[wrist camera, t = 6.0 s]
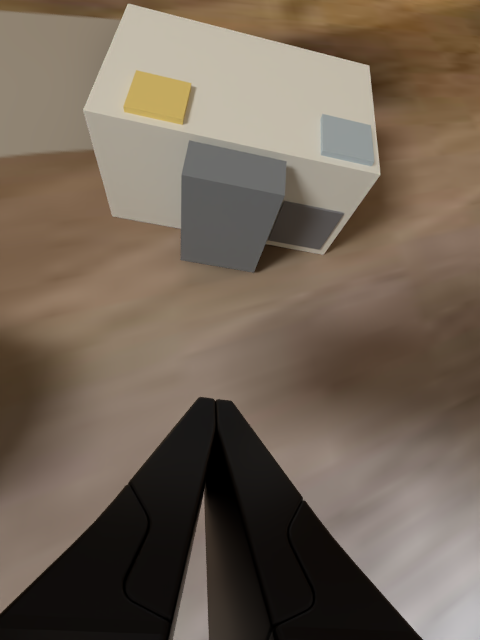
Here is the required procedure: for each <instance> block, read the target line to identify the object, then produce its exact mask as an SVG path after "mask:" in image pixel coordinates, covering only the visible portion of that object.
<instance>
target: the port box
mask: <svg viewBox="0 0 480 640" xmlns="http://www.w3.org/2000/svg"><path fill="white" fill-rule="evenodd" d="M83 111H84V115H85V119H86V123H87V126H88V130H89V133H90V137H91V141H92V144H93V148H94V152H95V155H96V159H97V163H98V166H99V170H100V173H101V177H102V181H103V184H104V188H105V192H106V195H107V199H108V202H109V206H110V210H111V213H112V216H114V217H119V218H125V219H130V220H136V221H141V222H147V223H152V224H158V225H163V226H169V227H174V228H180V229H181V175H182V170H183V166H184V161H185V156H186V152H187V147H188V143H189V140H190V141H195V142H199V143H204V144H209V145H213V146H218V147H223V148H227V149H232V150H237V151H241V152H246V153H251V154H255V155H260V156H265V157H269V158H274V159H279V160H283V161H287V164H286V184H285V197H284V199H283V202H282V204H281V207H280V209H279V212H278V214H277V216H276V219H275V221H274V224H273V226H272V229H271V231H270V234H269V236H268V239H267V241H266V244H267V245H273V246H278V247H284V248H289V249H295V250H300V251H306V252H311V253H317V254H322V255H324V253H325V252H326V251H327V249H328V248H329V246H330V245H331V244H332V242H333V241H334V239H335V238H336V237H337V235H338V234H339V232H340V231H341V230H342V228H343V227H344V225H345V224H346V223H347V221H348V220H349V218H350V217H351V215H352V214H353V213H354V211H355V210H356V208H357V207H358V206H359V204H360V203H361V201H362V200H363V199H364V197H365V196H366V194H367V193H368V192H369V190H370V189H371V187H372V186H373V185H374V183H375V182H376V180H377V179H378V178H379V176H380V175H381V174H380V165H379V155H378V146H377V136H376V126H375V117H374V107H373V98H372V88H371V78H370V69H369V66H368V65H364V64H361V63H357V62H353V61H349V60H345V59H341V58H337V57H333V56H329V55H326V54H322V53H318V52H314V51H310V50H306V49H302V48H298V47H295V46H291V45H287V44H283V43H279V42H275V41H271V40H267V39H264V38H260V37H256V36H252V35H248V34H244V33H240V32H236V31H232V30H229V29H225V28H221V27H217V26H213V25H209V24H205V23H201V22H198V21H194V20H190V19H186V18H182V17H178V16H174V15H170V14H166V13H163V12H159V11H155V10H151V9H147V8H143V7H139V6H135V5H132V4H128V5H127V7H126V10H125V12H124V15H123V17H122V19H121V22H120V24H119V27H118V29H117V31H116V33H115V36H114V38H113V41H112V43H111V45H110V48H109V50H108V53H107V55H106V57H105V60H104V62H103V64H102V67H101V69H100V71H99V74H98V76H97V78H96V81H95V83H94V86H93V88H92V90H91V93H90V95H89V98H88V100H87V102H86V105H85V107H84V109H83Z"/></svg>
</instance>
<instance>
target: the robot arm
mask: <svg viewBox="0 0 480 640" xmlns="http://www.w3.org/2000/svg"><path fill="white" fill-rule="evenodd" d="M204 488H205V491H204ZM203 494H204V503H205V533H206V564H207V594H208V624H209V640H423V639H422V638H421V637H420V636H419V635H418V634H417V633H416V632H415V631H414V629H413V628H412V627H411V626H410V625H409V624H408V623H407V621H406V620H405V619H404V618H403V617H402V616H401V615H400V614H399V612H398V611H397V610H396V609H395V608H394V607H393V606H392V605H391V603H390V602H389V601H388V600H387V599H386V598H385V597H384V595H383V594H382V593H381V592H380V591H379V590H378V589H377V588H376V586H375V585H374V584H373V583H372V582H371V581H370V580H369V578H368V577H367V576H366V575H365V574H364V573H363V572H362V571H361V569H360V568H359V567H358V566H357V565H356V564H355V563H354V561H353V560H352V559H351V558H350V557H349V556H348V554H347V553H346V552H345V551H344V550H343V548H342V547H341V546H340V545H339V544H338V543H337V541H336V540H335V539H334V538H333V537H332V535H331V534H330V533H329V531H328V530H327V529H326V528H325V526H324V525H323V524H322V522H321V521H320V520H319V519H318V517H317V516H316V515H315V513H314V512H313V511H312V509H311V508H310V507H309V505H308V504H307V502H306V501H304V500H303V497H302V496H301V494H300V493H299V492H298V490H297V489H296V488H295V486H294V485H293V484H292V482H291V481H290V480H289V478H288V477H287V475H286V474H285V473H284V471H283V470H282V469H281V467H280V466H279V465H278V463H277V462H276V460H275V459H274V458H273V456H272V455H271V454H270V452H269V451H268V450H267V448H266V447H265V445H264V444H263V443H262V441H261V440H260V439H259V437H258V436H257V435H256V433H255V432H254V430H253V429H252V428H251V426H250V425H249V424H248V422H247V421H246V420H245V418H244V417H243V415H242V414H241V413H240V411H239V410H238V409H237V407H236V406H235V405H234V403H233V402H232V401H229V400H220V399H217V400H216V401H215V400H214V399H212V398H204V397H199V398H198V399H197V400H196V401H195V402H194V404H193V405H192V406H191V407H190V409H189V410H188V411H187V412H186V413H185V415H184V416H183V417H182V418H181V419H180V421H179V422H178V423H177V424H176V426H175V427H174V428H173V429H172V430H171V432H170V433H169V434H168V435H167V436H166V438H165V439H164V440H163V441H162V442H161V444H160V445H159V446H158V447H157V449H156V450H155V451H154V452H153V453H152V455H151V456H150V457H149V458H148V459H147V461H146V462H145V463H144V464H143V466H142V467H141V468H140V469H139V470H138V472H137V473H136V474H135V475H134V476H133V478H132V479H131V480H130V481H129V483H128V485H126V486H125V487H124V488H123V490H122V491H121V492H120V493H119V494H118V496H117V497H116V498H115V499H114V500H113V502H112V503H111V504H110V505H109V506H108V507H107V508H106V509H105V511H104V512H103V513H102V514H101V515H100V516H99V517H98V519H97V520H96V521H95V522H94V523H93V524H92V525H91V526H90V527H89V528H88V529H87V530H86V531H85V532H84V533H83V534H82V535H81V536H80V537H79V538H78V539H77V540H76V541H75V542H74V543H73V544H72V545H71V546H70V547H69V548H68V549H67V550H66V551H65V552H64V553H63V554H62V555H61V556H60V557H59V558H58V559H56V560H55V561H54V562H53V563H52V564H51V565H50V566H49V567H48V568H47V569H46V570H45V571H44V572H43V573H42V574H41V575H40V576H39V577H38V578H37V579H36V580H35V581H34V582H33V583H32V584H31V585H29V586H28V587H27V588H26V589H25V590H24V591H23V592H22V593H21V594H20V595H19V596H18V597H17V598H16V599H15V600H14V601H13V602H12V603H11V604H10V605H9V606H8V607H7V608H6V609H5V610H4V611H3V612H1V613H0V640H173V635H174V631H175V626H176V621H177V617H178V612H179V607H180V602H181V598H182V593H183V588H184V584H185V579H186V574H187V569H188V565H189V560H190V555H191V551H192V546H193V541H194V536H195V532H196V527H197V522H198V518H199V513H200V508H201V504H202V499H203Z"/></svg>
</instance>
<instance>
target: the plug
mask: <svg viewBox="0 0 480 640" xmlns="http://www.w3.org/2000/svg"><path fill="white" fill-rule="evenodd" d="M286 164H287V161H283V160H279V159H274V158H269V157H265V156H260V155H255V154H251V153H246V152H241V151H237V150H232V149H227V148H223V147H218V146H213V145H209V144H204V143H199V142H195V141H190V140H189V143H188V147H187V152H186V156H185V161H184V166H183V170H182V175H181V260H184V261H190V262H196V263H201V264H207V265H213V266H219V267H225V268H231V269H237V270H242V271H248V272H254V271H255V268H256V266H257V263H258V261H259V259H260V256H261V254H262V251H263V249H264V246H265V244H266V241H267V239H268V236H269V234H270V231H271V229H272V226H273V224H274V221H275V219H276V216H277V214H278V212H279V209H280V207H281V204H282V202H283V199H284V197H285V184H286Z"/></svg>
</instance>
